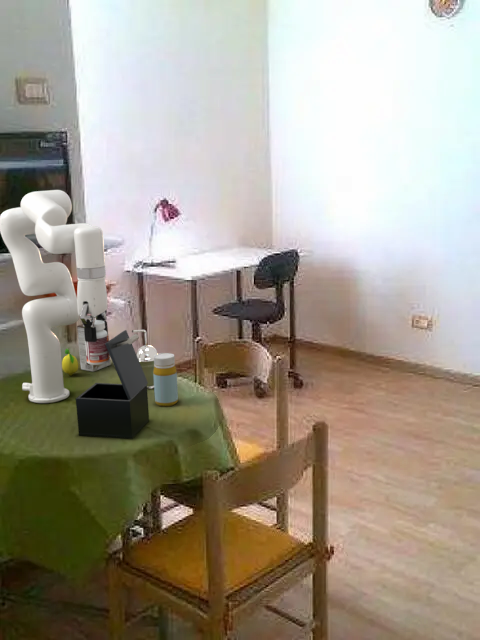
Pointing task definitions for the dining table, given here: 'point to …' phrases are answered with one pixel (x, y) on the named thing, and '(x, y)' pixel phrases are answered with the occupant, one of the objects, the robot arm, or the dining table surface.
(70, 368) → the lemon
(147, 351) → the cup with straw
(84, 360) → the coffee box
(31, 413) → the dining table surface
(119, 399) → the waste bin
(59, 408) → the dining table surface
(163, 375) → the bottle
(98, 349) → the pill bottle
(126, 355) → the bin lid
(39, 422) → the dining table surface
